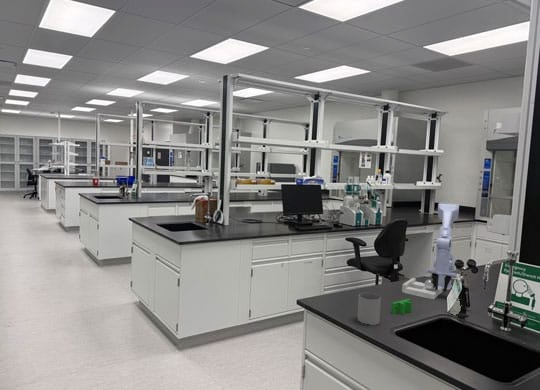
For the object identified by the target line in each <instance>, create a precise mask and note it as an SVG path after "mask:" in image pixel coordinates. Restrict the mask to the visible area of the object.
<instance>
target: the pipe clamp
mask: <svg viewBox="0 0 540 390" xmlns="http://www.w3.org/2000/svg"><path fill="white" fill-rule="evenodd" d="M412 306H413V302H412V299H410V298H406V299H402V300H398V301H393V302H392V303H391V308H390V309H391V311H390V312H391V314H393V315H394V314H401V315H405V313H410V314H411V313H412V308H413V307H412Z"/></svg>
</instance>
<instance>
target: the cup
mask: <svg viewBox="0 0 540 390" xmlns="http://www.w3.org/2000/svg"><path fill="white" fill-rule="evenodd" d="M381 300H382V297H381V296H380V295H379V294H376V293H372V292H361V293H359V294H358V303H357V304H358V305H357V318H358V319H357V321H358V320H359V321H360V322H362V323H361V324H363V323H365V324H364V325H366V324H370V325H369V326H376V324H377V325H379V324H380V317H381ZM359 321H358V322H359ZM360 322H359V323H360ZM378 323H379V324H378Z"/></svg>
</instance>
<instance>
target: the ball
mask: <svg viewBox="0 0 540 390" xmlns="http://www.w3.org/2000/svg"><path fill="white" fill-rule="evenodd" d="M424 283H425V287H426V288H427V289H429V290H432V289H434V288H435V285H434V281H433V279H432V278H431V279H426V280H425V281H424Z"/></svg>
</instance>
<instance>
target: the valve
mask: <svg viewBox="0 0 540 390" xmlns="http://www.w3.org/2000/svg"><path fill="white" fill-rule="evenodd" d="M456 299H457V298H456ZM459 300H460V299H457V300H456V302H455V303H454V305H453V306H452V307H451V308H450V307H449V314H450V313H451V314H453V315H456V314H458V313H459V312H461V306H462V305H461V306H460V301H459ZM467 309H468V306H467V307H466V309H465V310H467ZM451 314H450V315H451ZM453 315H452V316H453Z"/></svg>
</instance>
